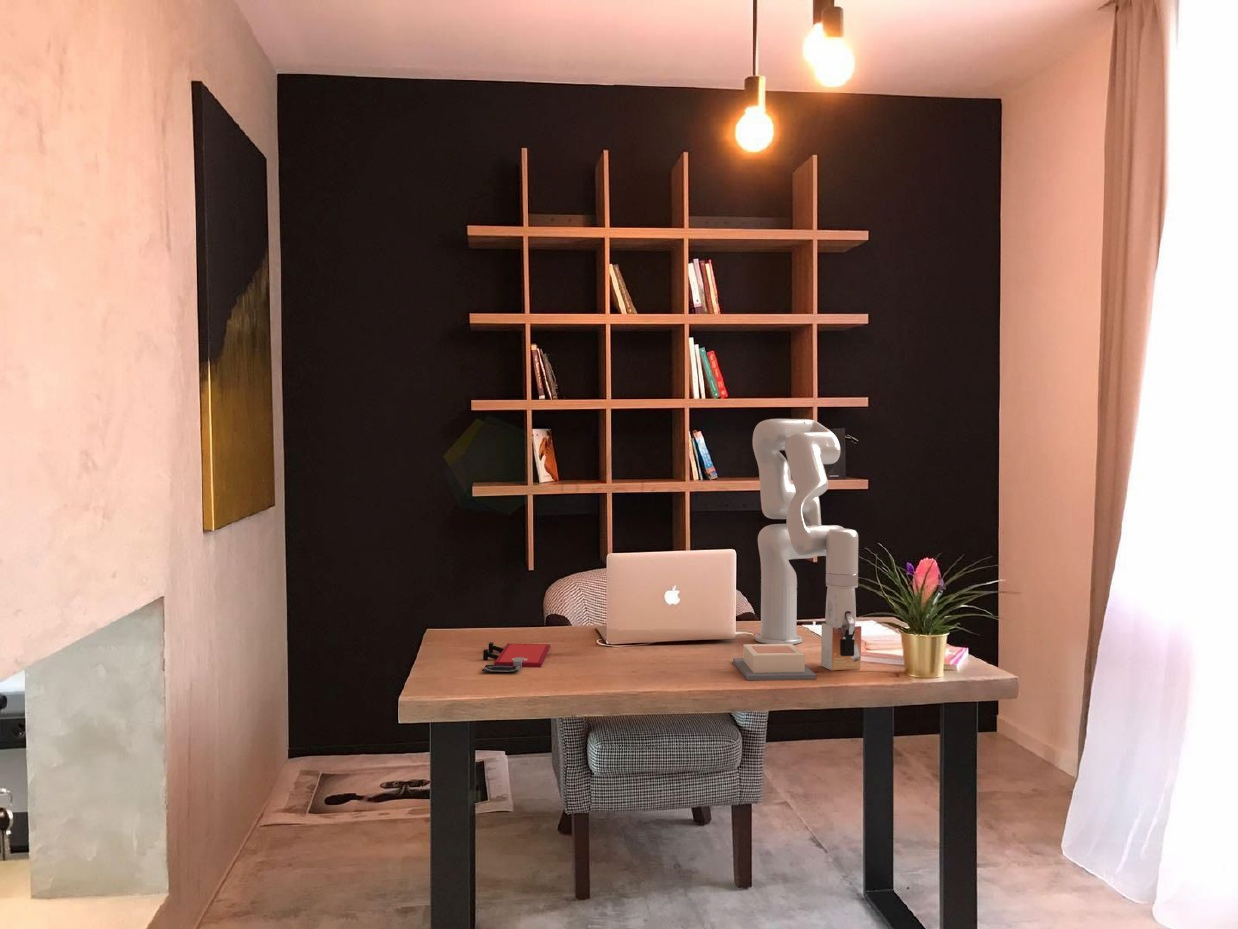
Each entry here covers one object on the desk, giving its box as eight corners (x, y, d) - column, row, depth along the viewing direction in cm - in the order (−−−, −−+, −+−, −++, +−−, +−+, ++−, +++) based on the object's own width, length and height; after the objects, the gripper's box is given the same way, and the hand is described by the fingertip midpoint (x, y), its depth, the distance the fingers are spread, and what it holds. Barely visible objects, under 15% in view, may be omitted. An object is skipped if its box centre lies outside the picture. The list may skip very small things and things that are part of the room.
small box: (831, 671, 239) (831, 627, 239) (820, 666, 245) (820, 622, 244) (861, 669, 242) (862, 625, 241) (850, 664, 247) (850, 621, 247)
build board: (732, 662, 248) (733, 641, 248) (796, 661, 250) (797, 640, 249) (747, 680, 230) (747, 658, 230) (816, 679, 232) (816, 657, 231)
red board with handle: (473, 674, 235) (537, 676, 235) (473, 662, 235) (537, 664, 235) (493, 648, 265) (550, 649, 265) (493, 637, 265) (550, 639, 265)
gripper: (816, 575, 251) (816, 644, 251) (836, 586, 233) (836, 659, 234) (846, 575, 251) (845, 643, 252) (868, 585, 234) (868, 659, 235)
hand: (841, 651), depth 243 cm, fingers open, 9 cm apart
